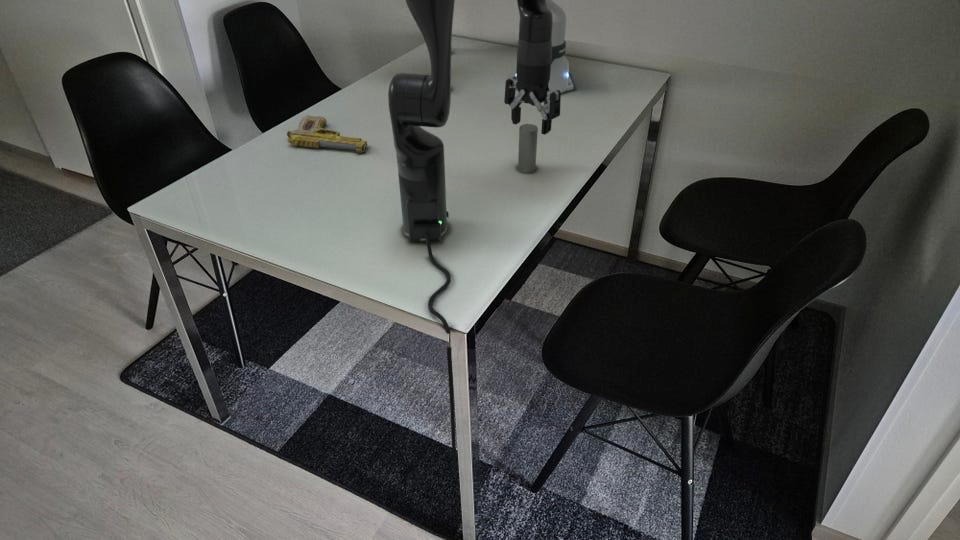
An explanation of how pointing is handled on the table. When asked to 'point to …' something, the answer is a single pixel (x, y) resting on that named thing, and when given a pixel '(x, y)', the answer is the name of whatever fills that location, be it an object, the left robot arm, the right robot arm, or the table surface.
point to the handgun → (322, 136)
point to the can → (527, 148)
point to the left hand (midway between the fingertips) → (530, 128)
